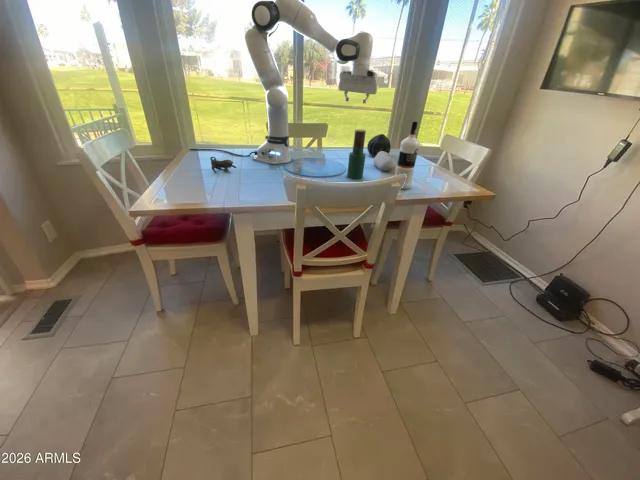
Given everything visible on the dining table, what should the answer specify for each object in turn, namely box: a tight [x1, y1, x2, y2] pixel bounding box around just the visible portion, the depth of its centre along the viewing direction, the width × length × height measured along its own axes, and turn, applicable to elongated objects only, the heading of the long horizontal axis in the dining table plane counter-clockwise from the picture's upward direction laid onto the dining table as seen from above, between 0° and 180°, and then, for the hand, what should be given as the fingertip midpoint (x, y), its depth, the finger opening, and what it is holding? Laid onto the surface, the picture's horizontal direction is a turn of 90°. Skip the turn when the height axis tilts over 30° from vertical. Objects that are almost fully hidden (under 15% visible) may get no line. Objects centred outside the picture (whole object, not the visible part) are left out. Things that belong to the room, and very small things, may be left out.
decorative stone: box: [372, 151, 396, 172], centre depth 156 cm, size 17×10×10 cm
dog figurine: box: [209, 156, 237, 174], centre depth 139 cm, size 12×6×7 cm, turn 94°
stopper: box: [352, 128, 367, 148], centre depth 133 cm, size 5×5×11 cm
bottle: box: [346, 145, 366, 181], centre depth 139 cm, size 8×8×16 cm
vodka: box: [394, 120, 421, 190], centre depth 126 cm, size 9×9×30 cm
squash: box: [366, 133, 392, 157], centre depth 177 cm, size 14×15×15 cm
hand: (355, 102), depth 145 cm, fingers open, 8 cm apart
